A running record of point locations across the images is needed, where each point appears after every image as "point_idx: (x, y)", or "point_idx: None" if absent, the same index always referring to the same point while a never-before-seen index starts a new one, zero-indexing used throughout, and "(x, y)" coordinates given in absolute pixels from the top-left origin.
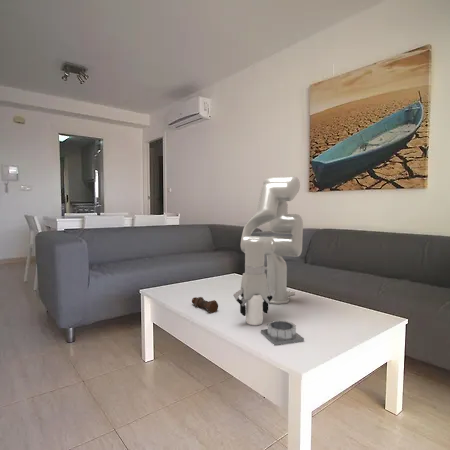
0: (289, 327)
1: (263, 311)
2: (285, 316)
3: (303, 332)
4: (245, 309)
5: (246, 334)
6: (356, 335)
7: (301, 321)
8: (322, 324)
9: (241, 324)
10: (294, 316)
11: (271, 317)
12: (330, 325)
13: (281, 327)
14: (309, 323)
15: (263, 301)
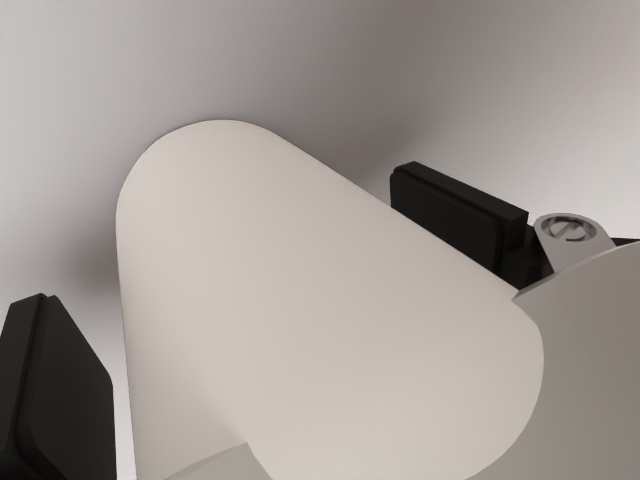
0: None
1: (393, 198)
2: (555, 37)
3: None
4: (111, 468)
5: (121, 467)
6: None
7: (574, 168)
8: (622, 214)
9: (47, 276)
10: (605, 48)
11: (439, 49)
12: (636, 225)
13: None
14: (586, 202)
15: (517, 218)
